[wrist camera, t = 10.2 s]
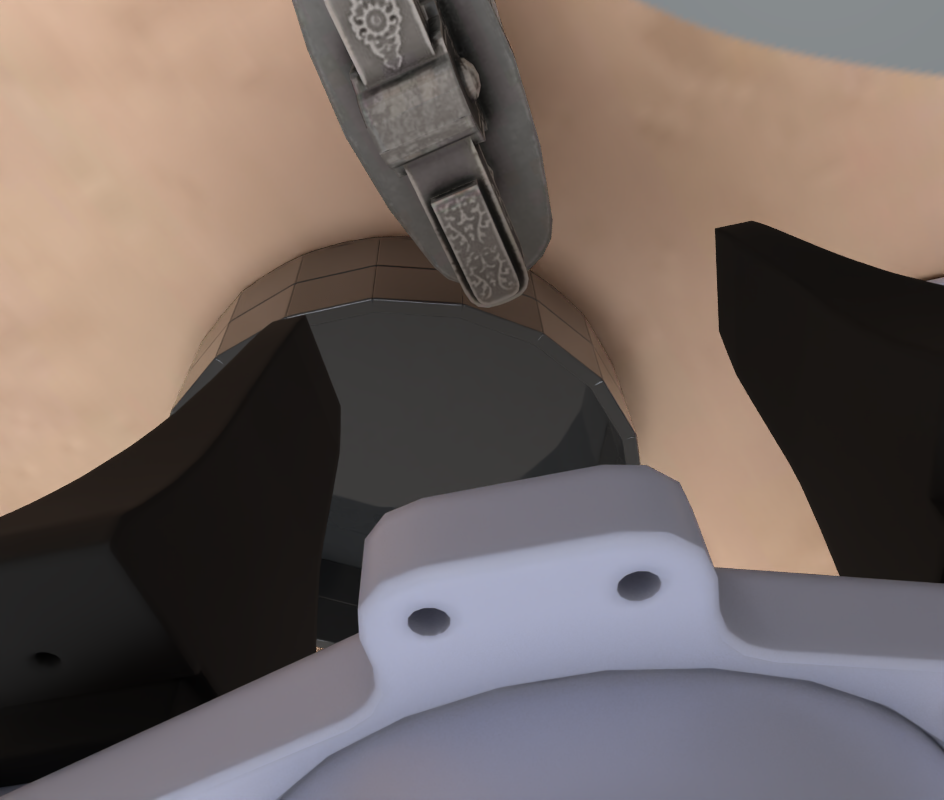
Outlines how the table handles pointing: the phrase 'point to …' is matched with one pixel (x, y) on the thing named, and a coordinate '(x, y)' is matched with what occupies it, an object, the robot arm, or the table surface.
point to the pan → (428, 389)
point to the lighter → (439, 131)
